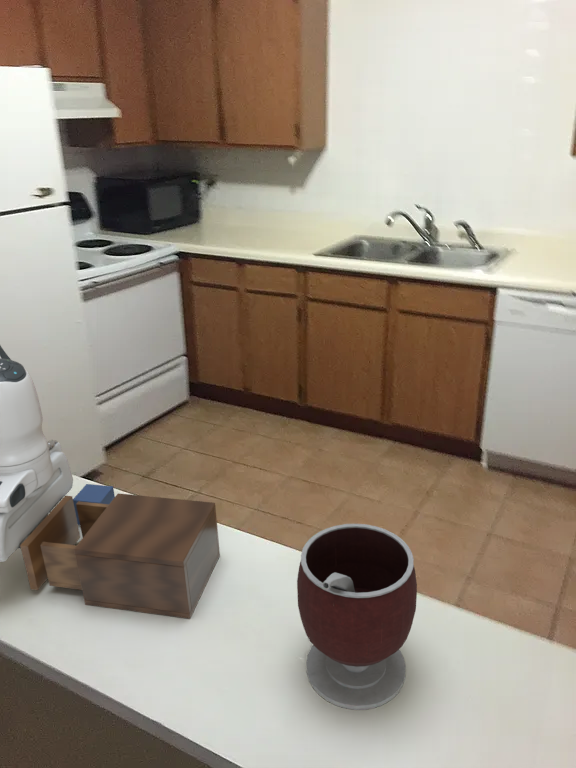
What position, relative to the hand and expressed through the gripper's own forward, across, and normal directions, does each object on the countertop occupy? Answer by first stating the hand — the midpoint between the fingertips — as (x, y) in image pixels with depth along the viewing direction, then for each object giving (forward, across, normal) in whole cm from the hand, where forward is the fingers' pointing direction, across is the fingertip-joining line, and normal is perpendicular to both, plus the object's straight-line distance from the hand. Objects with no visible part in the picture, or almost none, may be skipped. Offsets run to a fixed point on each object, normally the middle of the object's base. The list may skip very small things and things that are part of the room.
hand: (37, 546), depth 102 cm
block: (+4, -13, +3) cm, 14 cm away
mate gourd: (+4, +12, +50) cm, 51 cm away
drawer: (+3, 0, +7) cm, 8 cm away
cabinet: (+4, 0, +19) cm, 19 cm away
